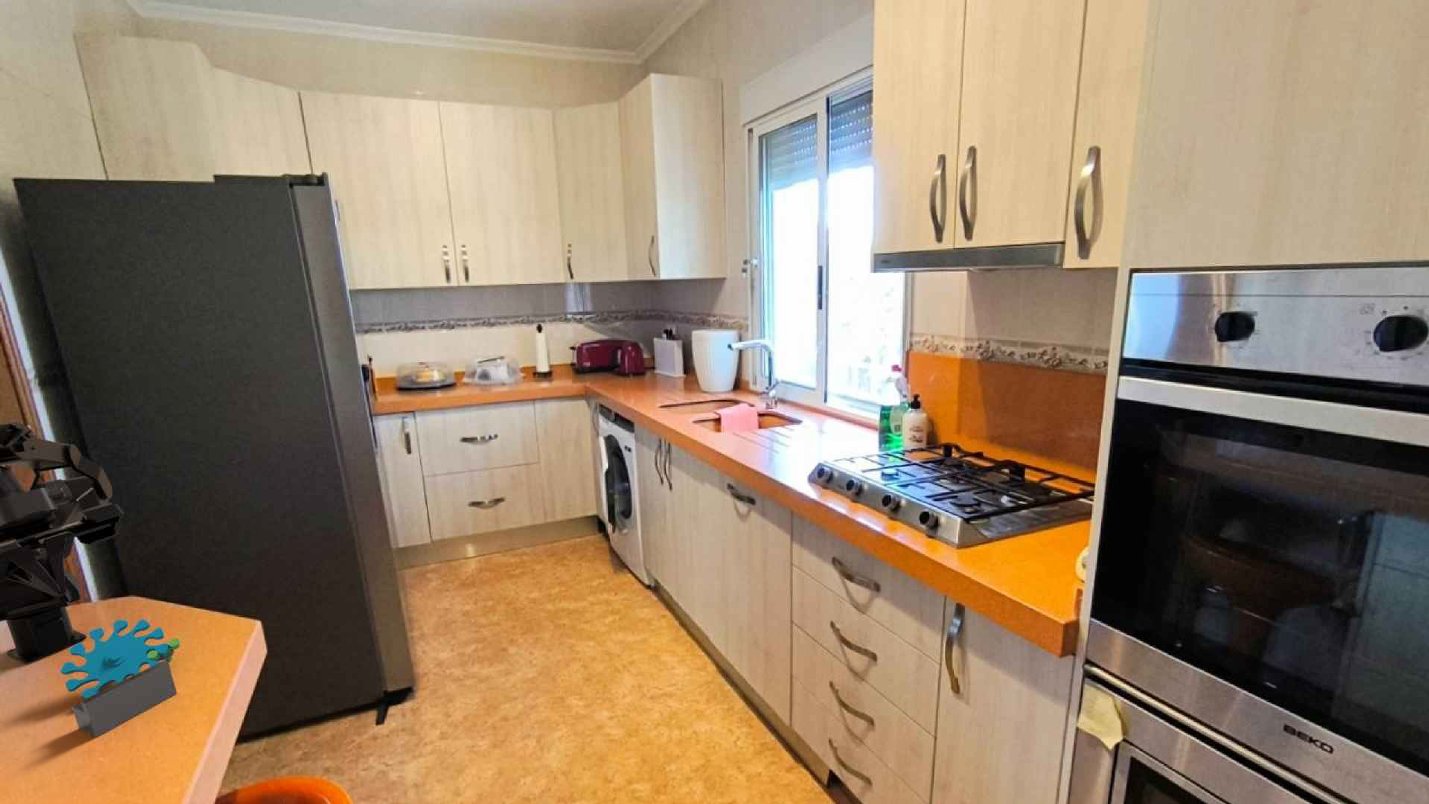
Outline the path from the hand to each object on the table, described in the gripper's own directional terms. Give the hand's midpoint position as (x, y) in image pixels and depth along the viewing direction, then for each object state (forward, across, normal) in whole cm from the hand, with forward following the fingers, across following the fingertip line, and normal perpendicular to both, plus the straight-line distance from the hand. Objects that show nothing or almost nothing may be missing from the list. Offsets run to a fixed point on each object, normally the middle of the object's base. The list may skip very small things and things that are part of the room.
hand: (62, 594), depth 79 cm
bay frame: (+19, -2, -3) cm, 20 cm away
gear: (+14, +1, +3) cm, 15 cm away
